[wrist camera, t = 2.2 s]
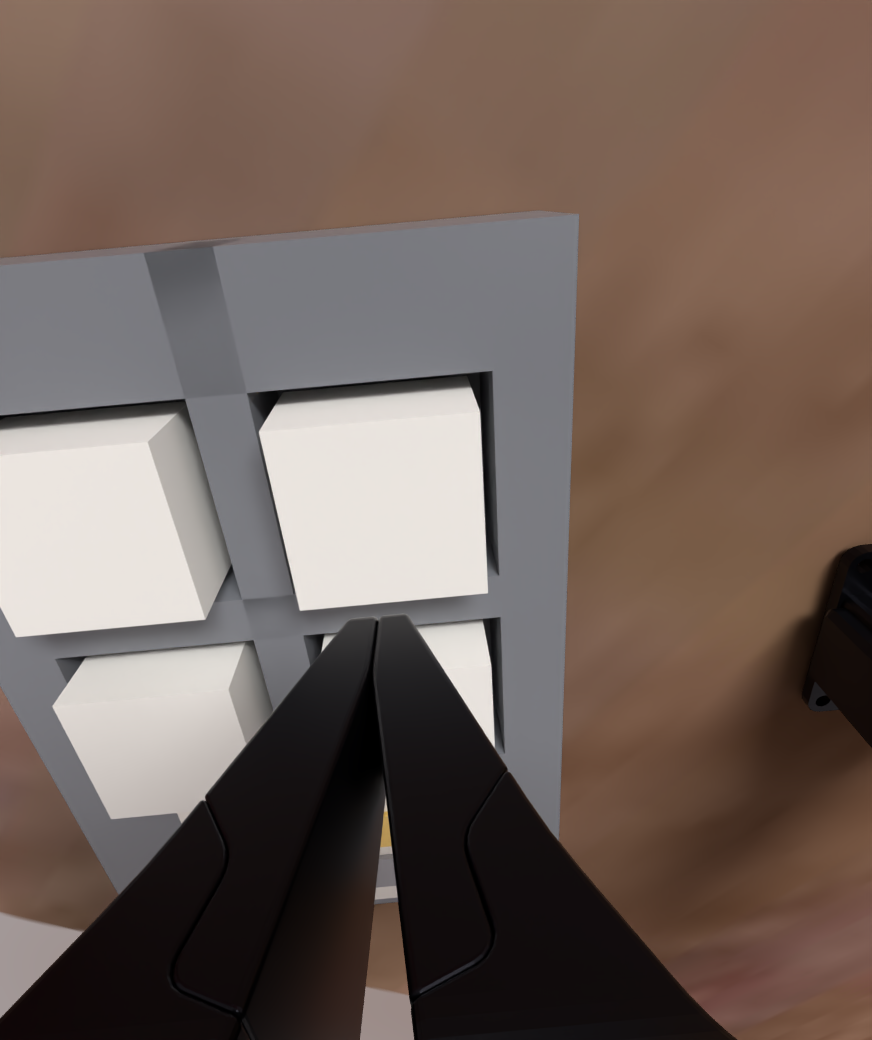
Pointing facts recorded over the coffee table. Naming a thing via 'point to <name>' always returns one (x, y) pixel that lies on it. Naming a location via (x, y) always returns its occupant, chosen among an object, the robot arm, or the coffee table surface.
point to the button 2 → (163, 722)
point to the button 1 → (106, 521)
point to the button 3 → (379, 491)
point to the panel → (241, 463)
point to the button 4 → (462, 664)
